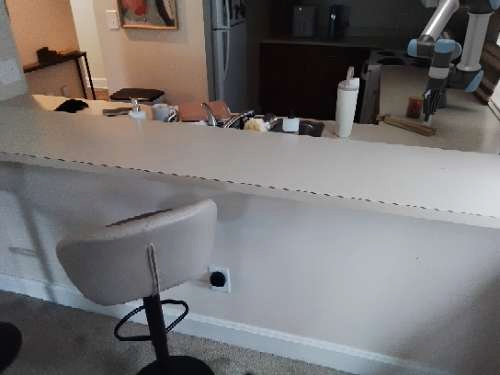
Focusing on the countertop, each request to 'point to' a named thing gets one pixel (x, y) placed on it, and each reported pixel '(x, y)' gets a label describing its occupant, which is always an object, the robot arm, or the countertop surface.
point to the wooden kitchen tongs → (403, 124)
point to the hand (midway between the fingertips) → (425, 127)
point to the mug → (414, 106)
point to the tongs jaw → (418, 125)
